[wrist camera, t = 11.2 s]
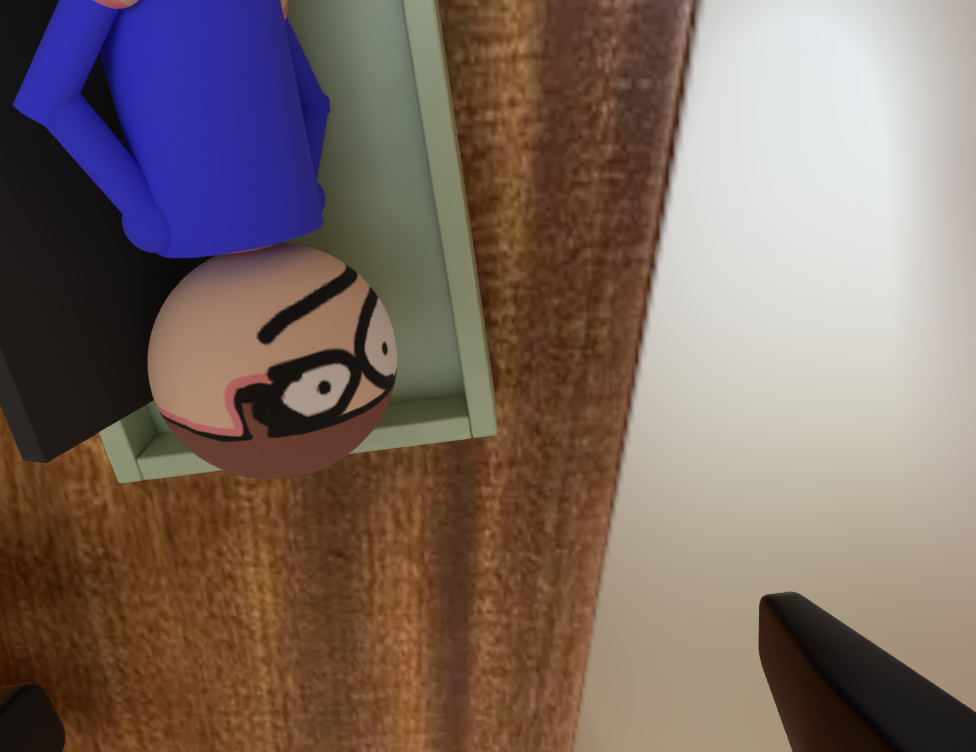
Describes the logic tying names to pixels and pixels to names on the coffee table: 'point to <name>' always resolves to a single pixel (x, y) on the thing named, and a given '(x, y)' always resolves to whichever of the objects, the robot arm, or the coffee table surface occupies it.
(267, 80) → the character figurine
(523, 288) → the coffee table surface
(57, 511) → the coffee table surface
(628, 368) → the coffee table surface
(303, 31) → the tray
